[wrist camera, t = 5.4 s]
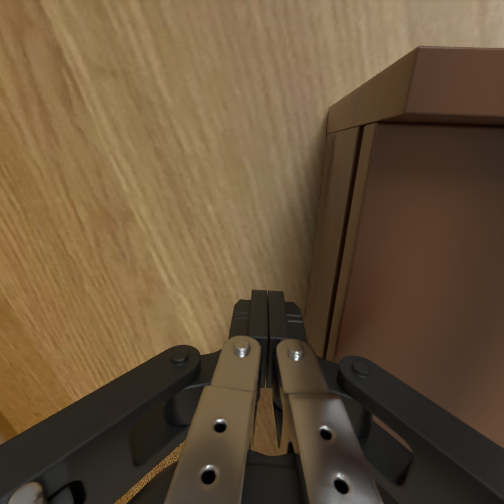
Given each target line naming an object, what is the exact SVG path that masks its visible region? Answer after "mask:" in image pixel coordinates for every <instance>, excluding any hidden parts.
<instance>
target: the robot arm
mask: <svg viewBox="0 0 504 504" xmlns="http://www.w3.org/2000/svg"><path fill="white" fill-rule="evenodd" d="M265 375H266V388H272V404H271V409H272V418H273V426H274V435H275V443H276V452H277V456H266V455H264V454H261V453H258V452H255V451H253V442H254V433H255V424H256V415H257V405H258V401H259V398H260V388H265ZM374 416H375V417H377V418H378V419H379V420H380V421H382V422H383V423H384V424H385V425H386V426H388V427H389V428H390V429H391V430H393V431H394V432H395V433H396V434H397V435H399V436H400V437H401V438H402V439H403V440H405V442H406V443H407V444H408V445H409V447H410V448H411V450H412V452H411V451H409V450H408V449H407V448H406V447H405V446H403V445H402V444H401V443H400V442H399V441H397V440H396V439H395V438H394V437H393V436H391V435H390V434H389V433H388V432H387V431H385V430H384V429H383V428H382V427H381V426H380V425H378V424H377V423H376V422H375V421H374V420H373V417H374ZM185 439H186V440H185ZM184 440H185V443H184V446H183V449H182V452H181V454H180V457H179V460H178V461H177V462H175V463H173V464H171V465H170V466H168V467H166V468H165V469H163V470H162V471H161V472H160V473H158V474H157V475H156V476H155V477H154V478H153V479H151V480H150V481H149V482H148V483H147V484H146V485H145V486H144V487H143V488H142V489H141V490H140V491H139V492H138V493H137V494H136V495H135V496H134V497H133V498H132V499H131V500H130V501H129V502H128V503H127V504H504V448H502V447H501V446H499V445H498V444H496V443H494V442H493V441H491V440H490V439H488V438H487V437H485V436H484V435H482V434H481V433H479V432H478V431H476V430H475V429H473V428H472V427H470V426H469V425H467V424H466V423H464V422H463V421H461V420H460V419H458V418H457V417H455V416H454V415H452V414H451V413H449V412H448V411H446V410H445V409H443V408H442V407H440V406H439V405H437V404H435V403H434V402H432V401H431V400H429V399H428V398H426V397H425V396H423V395H422V394H420V393H419V392H417V391H416V390H414V389H413V388H411V387H410V386H408V385H407V384H405V383H404V382H402V381H401V380H399V379H398V378H396V377H395V376H393V375H392V374H390V373H389V372H387V371H386V370H384V369H383V368H381V367H380V366H378V365H376V364H375V363H373V362H372V361H370V360H368V359H366V358H363V357H360V356H347V357H344V358H343V359H341V361H340V363H339V364H337V363H334V362H331V361H327V360H325V359H322V358H320V357H319V356H317V355H316V353H315V351H314V349H313V347H312V346H311V345H310V344H308V341H307V336H306V332H305V328H304V324H303V319H302V315H301V311H300V308H299V307H298V306H297V305H296V304H295V303H294V302H285V300H284V293H283V291H268V294H267V290H252V295H251V300H243V299H240V300H239V301H238V302H237V303H236V304H235V306H234V311H233V317H232V322H231V327H230V333H229V338H228V340H227V341H225V343H224V344H223V347H222V349H221V350H219V351H217V352H214V353H210V354H205V355H200V352H199V351H198V350H197V349H196V348H194V347H192V346H189V345H178V346H174V347H171V348H169V349H167V350H165V351H164V352H162V353H160V354H158V355H157V356H155V357H153V358H151V359H150V360H148V361H146V362H144V363H143V364H141V365H139V366H137V367H136V368H134V369H132V370H130V371H129V372H127V373H125V374H123V375H122V376H120V377H118V378H116V379H115V380H113V381H111V382H109V383H108V384H106V385H104V386H102V387H101V388H99V389H97V390H96V391H94V392H92V393H90V394H89V395H87V396H85V397H83V398H82V399H80V400H78V401H76V402H75V403H73V404H71V405H69V406H68V407H66V408H64V409H62V410H61V411H59V412H57V413H55V414H54V415H52V416H50V417H48V418H47V419H45V420H43V421H41V422H40V423H38V424H36V425H34V426H33V427H31V428H29V429H27V430H26V431H24V432H22V433H20V434H19V435H17V436H15V437H13V438H12V439H10V440H8V441H6V442H5V443H3V444H1V445H0V504H114V503H115V502H116V501H117V500H118V499H119V498H121V497H122V496H123V495H124V494H125V493H126V492H127V491H128V490H130V489H131V488H132V487H133V486H134V485H135V484H136V483H137V482H138V481H140V480H141V479H142V478H143V477H144V476H145V475H146V474H147V473H149V472H150V471H151V470H152V469H153V468H154V467H155V466H156V465H157V464H159V463H160V462H161V461H162V460H163V459H164V458H165V457H166V456H167V455H169V454H170V453H171V452H172V451H173V450H174V449H175V448H176V447H178V446H179V445H180V444H181V443H182V442H183V441H184ZM374 480H375V481H374Z"/></svg>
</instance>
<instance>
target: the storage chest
mask: <svg viewBox="0 0 504 504" xmlns="http://www.w3.org/2000/svg"><path fill="white" fill-rule="evenodd" d="M326 134H327V135H328V140H327V148H326V156H325V164H324V172H323V180H322V188H321V196H320V204H319V212H318V220H317V228H316V236H315V244H314V252H313V260H312V268H311V276H310V284H309V292H308V300H307V308H306V316H305V324H304V328H305V332H306V336H307V341H308V344H310V345H311V346H312V347H313V349H314V351H315V353H316V355H317V356H319V357H320V358H322V359H325V360H327V361H331V362H334V363H337V364H339V363H340V361H341V359H343V358H344V357H347V356H360V357H363V358H366V359H368V360H370V361H372V362H373V363H375V364H376V365H378V366H380V367H381V368H383V369H384V370H386V371H387V372H389V373H390V374H392V375H393V376H395V377H396V378H398V379H399V380H401V381H402V382H404V383H405V384H407V385H408V386H410V387H411V388H413V389H414V390H416V391H417V392H419V393H420V394H422V395H423V396H425V397H426V398H428V399H429V400H431V401H432V402H434V403H435V404H437V405H439V406H440V407H442V408H443V409H445V410H446V411H448V412H449V413H451V414H452V415H454V416H455V417H457V418H458V419H460V420H461V421H463V422H464V423H466V424H467V425H469V426H470V427H472V428H473V429H475V430H476V431H478V432H479V433H481V434H482V435H484V436H485V437H487V438H488V439H490V440H491V441H493V442H494V443H496V444H498V445H499V446H501V447H502V448H504V48H476V47H439V46H418V47H417V48H415V49H414V50H412V51H411V52H409V53H408V54H406V55H405V56H403V57H402V58H401V59H399V60H398V61H396V62H395V63H393V64H392V65H390V66H389V67H387V68H386V69H385V70H383V71H382V72H380V73H379V74H377V75H376V76H374V77H373V78H371V79H370V80H368V81H367V82H366V83H364V84H363V85H361V86H360V87H358V88H357V89H355V90H354V91H352V92H351V93H349V94H348V95H347V96H345V97H344V98H342V99H341V100H339V101H338V102H336V103H335V104H333V105H332V106H330V107H329V114H328V122H327V131H326ZM373 420H374V421H375V422H376V423H377V424H378V425H380V426H381V427H382V428H383V429H384V430H385V431H387V432H388V433H389V434H390V435H391V436H393V437H394V438H395V439H396V440H397V441H399V442H400V443H401V444H402V445H403V446H405V447H406V448H407V449H408V450H409V451H411V452H412V450H411V448H410V447H409V445H408V444H407V443H406V442H405V440H403V439H402V438H401V437H400V436H399V435H397V434H396V433H395V432H394V431H393V430H391V429H390V428H389V427H388V426H386V425H385V424H384V423H383V422H382V421H380V420H379V419H378V418H377V417H375V416H374V417H373ZM374 481H375V480H374Z"/></svg>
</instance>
